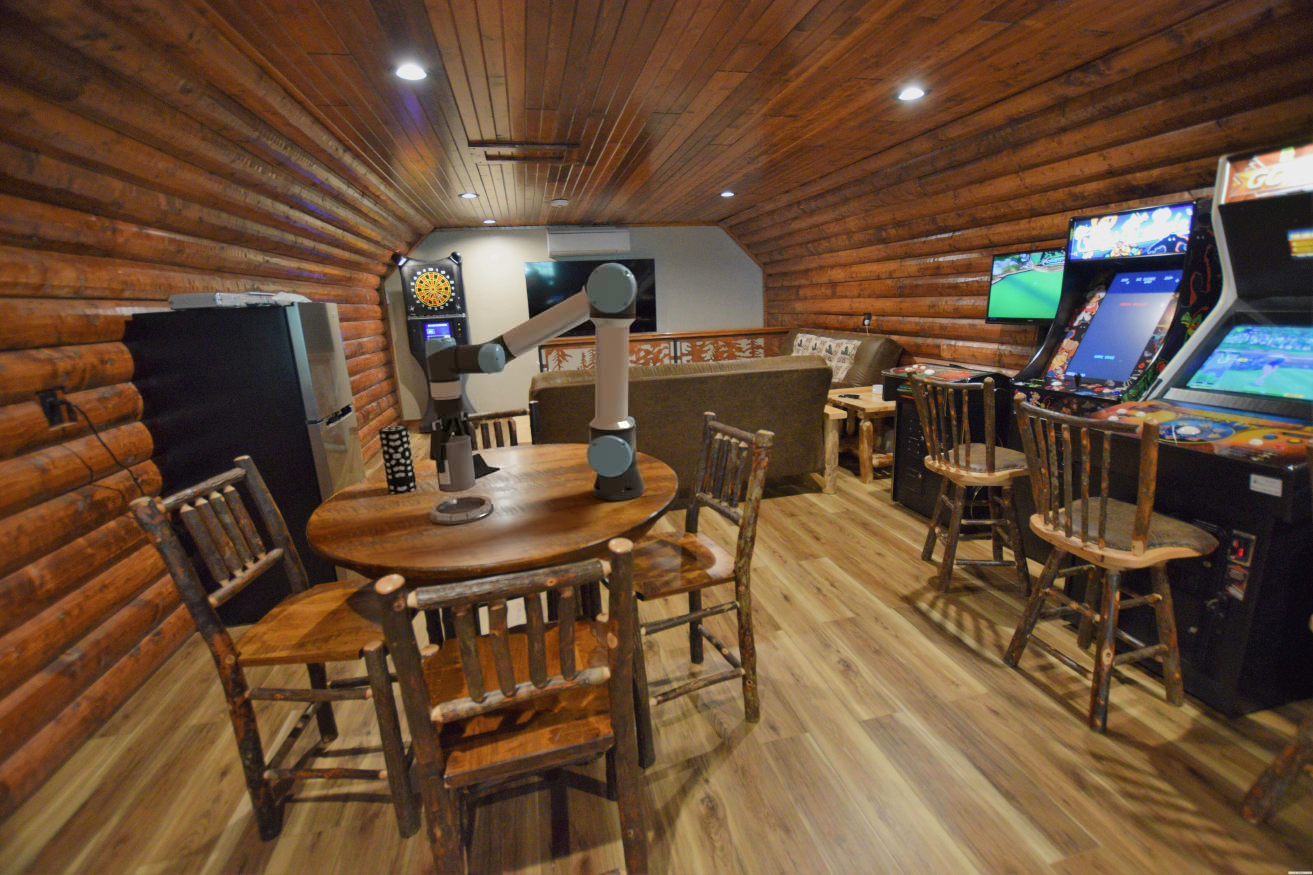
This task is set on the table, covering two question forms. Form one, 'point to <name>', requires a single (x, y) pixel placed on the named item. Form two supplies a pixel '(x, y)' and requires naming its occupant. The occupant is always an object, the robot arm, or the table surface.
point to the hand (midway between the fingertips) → (457, 477)
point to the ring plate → (461, 510)
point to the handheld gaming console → (482, 467)
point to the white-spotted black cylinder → (397, 459)
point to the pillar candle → (459, 464)
